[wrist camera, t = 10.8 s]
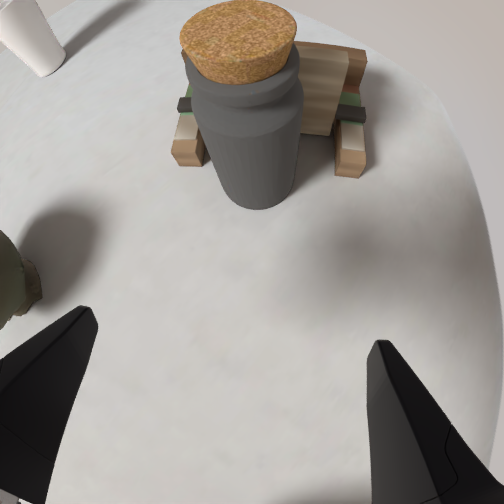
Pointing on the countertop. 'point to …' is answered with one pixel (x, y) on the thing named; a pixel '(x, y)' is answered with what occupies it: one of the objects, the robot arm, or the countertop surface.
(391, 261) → the countertop surface
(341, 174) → the wooden rack
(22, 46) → the drinking glass
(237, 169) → the bottle
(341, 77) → the wooden flat panel
